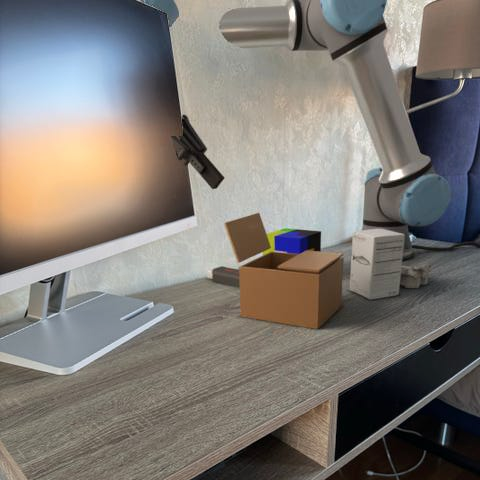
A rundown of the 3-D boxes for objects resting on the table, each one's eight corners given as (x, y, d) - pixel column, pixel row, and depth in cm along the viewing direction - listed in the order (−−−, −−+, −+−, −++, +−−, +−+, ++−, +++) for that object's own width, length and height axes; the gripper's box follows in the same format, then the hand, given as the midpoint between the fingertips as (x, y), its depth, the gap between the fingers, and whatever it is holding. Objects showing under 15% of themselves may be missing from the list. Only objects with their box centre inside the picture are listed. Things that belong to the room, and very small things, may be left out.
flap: (239, 262, 79) (237, 263, 79) (271, 248, 89) (269, 248, 89) (225, 222, 77) (223, 223, 77) (259, 212, 88) (257, 213, 88)
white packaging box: (348, 290, 94) (351, 230, 90) (377, 285, 97) (382, 227, 92) (369, 300, 88) (373, 236, 83) (400, 295, 90) (406, 233, 86)
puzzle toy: (299, 282, 102) (299, 238, 98) (263, 276, 107) (262, 234, 104) (320, 272, 109) (321, 231, 105) (285, 267, 115) (285, 228, 111)
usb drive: (242, 288, 99) (241, 276, 98) (204, 279, 107) (203, 268, 106) (256, 282, 103) (256, 271, 102) (219, 274, 110) (219, 264, 109)
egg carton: (432, 283, 97) (434, 265, 95) (412, 290, 93) (414, 271, 91) (390, 274, 105) (391, 257, 103) (370, 280, 101) (371, 262, 99)
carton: (240, 316, 82) (238, 262, 79) (271, 296, 93) (270, 247, 89) (317, 329, 75) (319, 270, 71) (341, 305, 86) (343, 253, 82)
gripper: (152, 109, 92) (225, 194, 90) (106, 106, 81) (187, 201, 80) (170, 78, 87) (247, 166, 86) (124, 70, 77) (210, 170, 75)
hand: (218, 183), depth 83 cm, fingers closed
